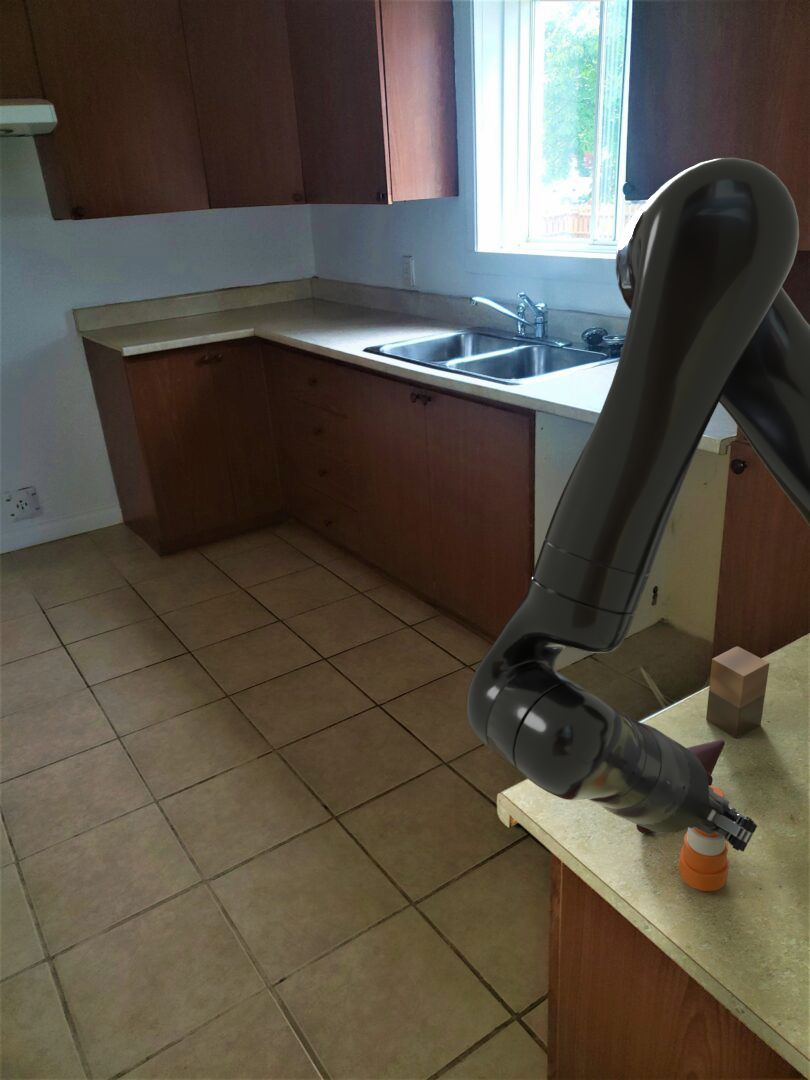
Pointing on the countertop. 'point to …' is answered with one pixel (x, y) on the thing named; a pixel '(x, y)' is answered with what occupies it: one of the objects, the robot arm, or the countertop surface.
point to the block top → (738, 676)
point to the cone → (704, 858)
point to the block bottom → (734, 715)
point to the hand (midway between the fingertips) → (720, 815)
